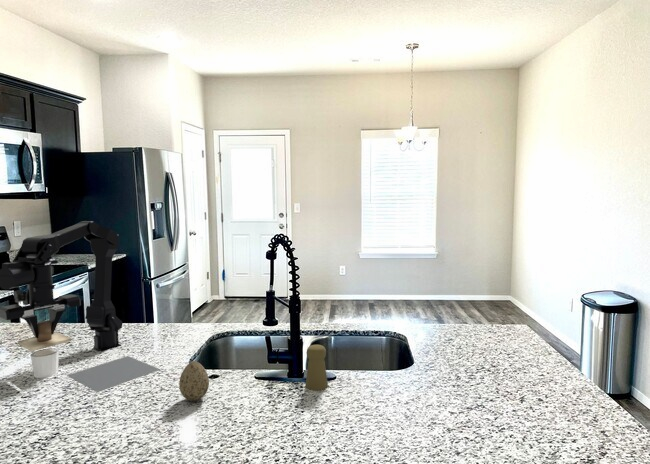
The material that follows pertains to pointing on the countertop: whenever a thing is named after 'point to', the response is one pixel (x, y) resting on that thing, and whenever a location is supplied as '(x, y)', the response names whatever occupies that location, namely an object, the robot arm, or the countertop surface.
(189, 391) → the decorative egg
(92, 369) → the mat
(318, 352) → the cork
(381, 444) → the countertop surface
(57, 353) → the white round cup
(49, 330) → the lid
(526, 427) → the countertop surface
